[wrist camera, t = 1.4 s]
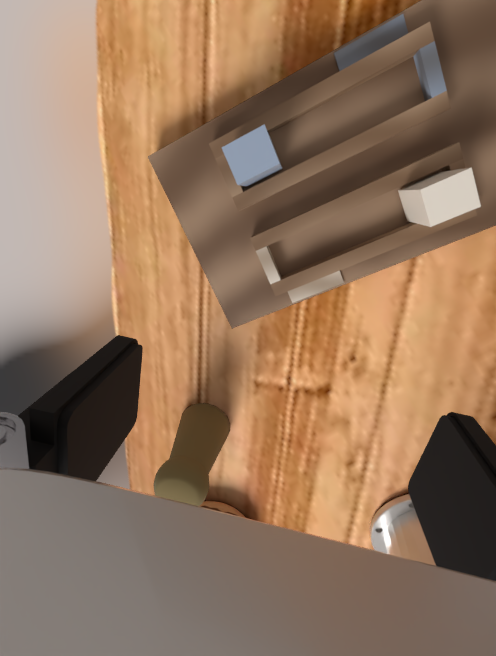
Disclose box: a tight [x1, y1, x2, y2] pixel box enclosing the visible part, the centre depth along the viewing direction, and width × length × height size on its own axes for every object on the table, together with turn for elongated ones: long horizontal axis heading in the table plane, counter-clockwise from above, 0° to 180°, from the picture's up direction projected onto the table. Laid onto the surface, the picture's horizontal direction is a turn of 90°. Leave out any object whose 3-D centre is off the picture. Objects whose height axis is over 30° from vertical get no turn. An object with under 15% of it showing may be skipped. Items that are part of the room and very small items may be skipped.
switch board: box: [148, 0, 496, 328], centre depth 29 cm, size 17×28×3 cm, turn 115°
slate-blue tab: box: [222, 124, 283, 186], centre depth 26 cm, size 3×3×6 cm
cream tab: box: [398, 167, 481, 227], centre depth 26 cm, size 3×3×6 cm
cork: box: [154, 403, 230, 506], centre depth 37 cm, size 6×6×11 cm
